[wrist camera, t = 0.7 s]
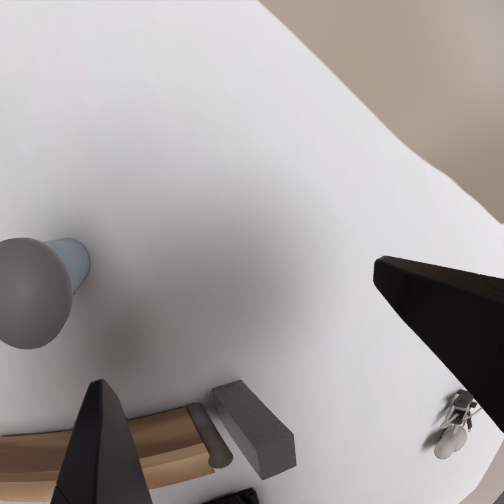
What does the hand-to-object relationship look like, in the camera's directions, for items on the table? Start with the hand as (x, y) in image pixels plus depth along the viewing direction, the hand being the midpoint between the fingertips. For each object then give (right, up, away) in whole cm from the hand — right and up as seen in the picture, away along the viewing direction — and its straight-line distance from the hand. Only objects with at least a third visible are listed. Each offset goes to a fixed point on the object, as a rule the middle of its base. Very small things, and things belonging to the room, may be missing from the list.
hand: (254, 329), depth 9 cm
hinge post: (-2, -9, +14) cm, 17 cm away
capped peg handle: (-12, +2, +9) cm, 15 cm away
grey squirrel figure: (+35, -27, +32) cm, 55 cm away
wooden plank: (-12, -11, +10) cm, 19 cm away
